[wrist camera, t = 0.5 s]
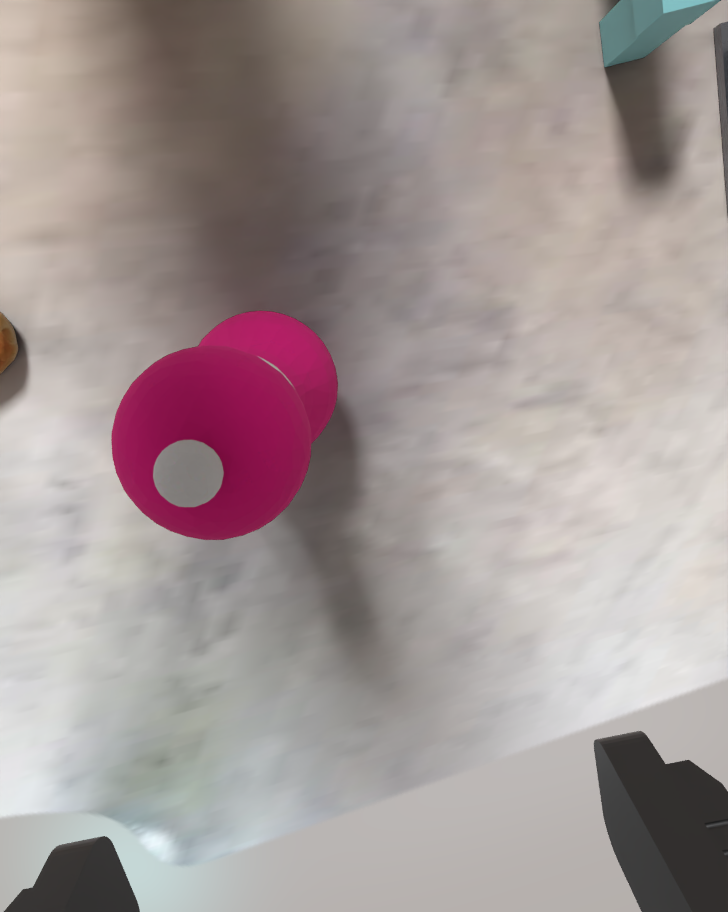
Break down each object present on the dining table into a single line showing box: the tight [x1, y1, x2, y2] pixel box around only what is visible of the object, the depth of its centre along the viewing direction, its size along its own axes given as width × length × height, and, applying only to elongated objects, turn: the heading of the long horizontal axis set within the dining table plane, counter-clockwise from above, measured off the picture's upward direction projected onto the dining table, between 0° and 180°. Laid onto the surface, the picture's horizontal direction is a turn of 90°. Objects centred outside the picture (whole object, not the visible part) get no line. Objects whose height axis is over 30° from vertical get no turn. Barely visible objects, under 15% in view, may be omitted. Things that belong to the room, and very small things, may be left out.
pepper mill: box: [112, 311, 338, 540], centre depth 25 cm, size 7×7×20 cm
